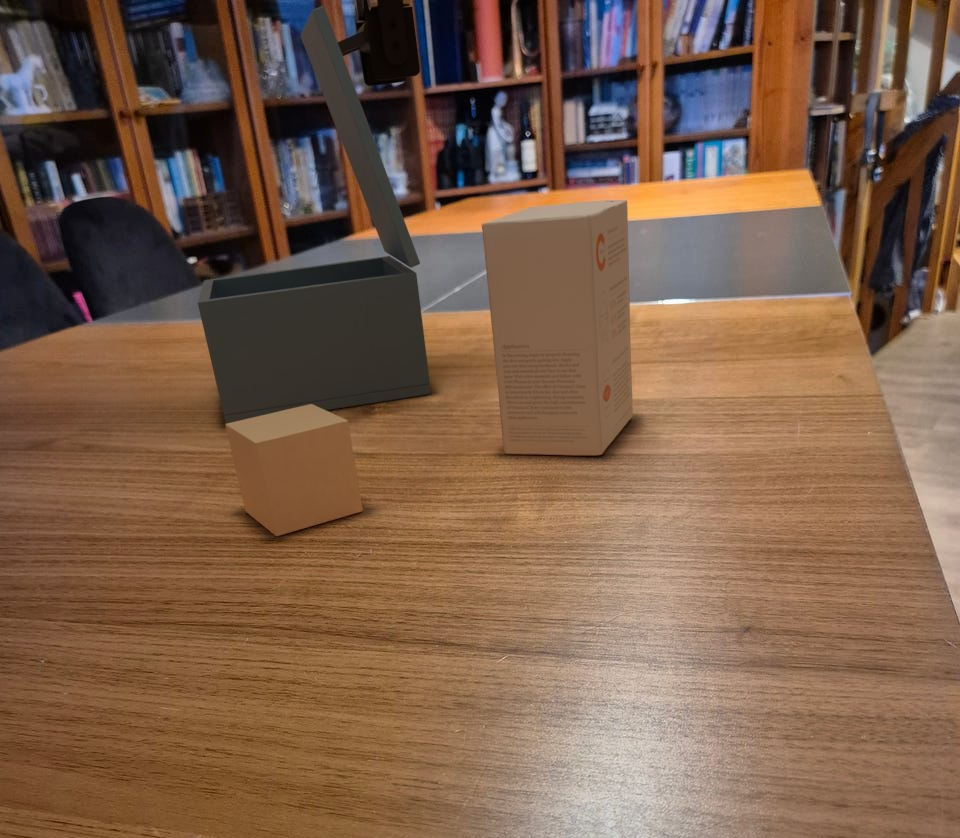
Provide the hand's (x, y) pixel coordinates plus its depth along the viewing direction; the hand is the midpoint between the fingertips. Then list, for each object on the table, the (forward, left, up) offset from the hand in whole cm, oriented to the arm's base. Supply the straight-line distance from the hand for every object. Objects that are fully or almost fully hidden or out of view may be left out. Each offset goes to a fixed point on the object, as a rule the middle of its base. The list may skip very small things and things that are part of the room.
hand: (391, 77), depth 67 cm
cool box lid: (-3, +1, -4) cm, 5 cm away
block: (-20, -23, -21) cm, 38 cm away
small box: (-2, -23, -21) cm, 32 cm away
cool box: (-8, +3, -21) cm, 23 cm away
